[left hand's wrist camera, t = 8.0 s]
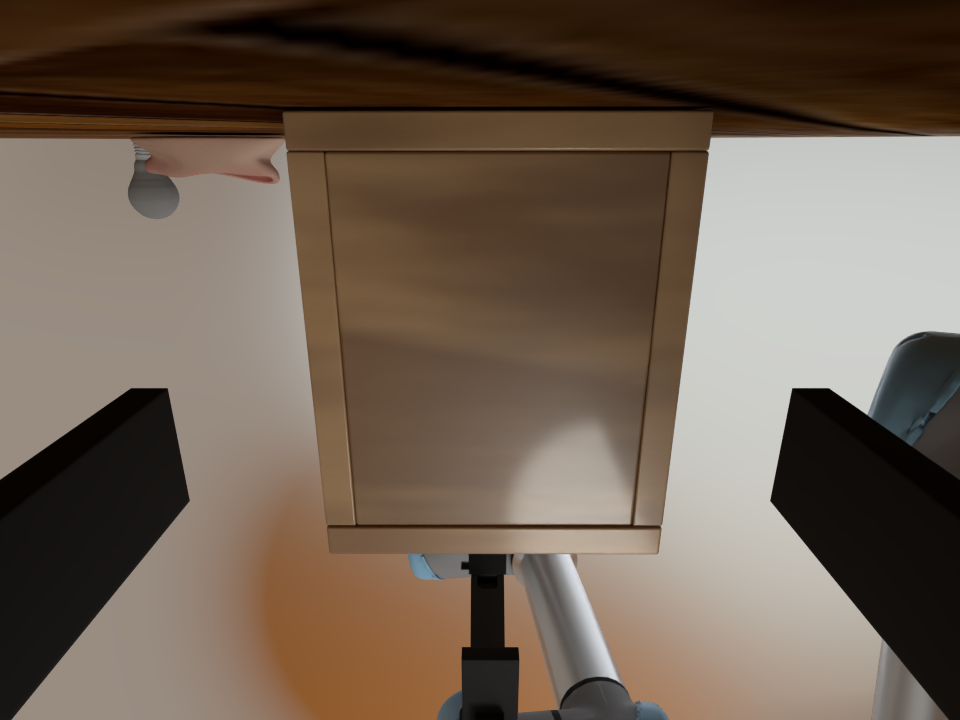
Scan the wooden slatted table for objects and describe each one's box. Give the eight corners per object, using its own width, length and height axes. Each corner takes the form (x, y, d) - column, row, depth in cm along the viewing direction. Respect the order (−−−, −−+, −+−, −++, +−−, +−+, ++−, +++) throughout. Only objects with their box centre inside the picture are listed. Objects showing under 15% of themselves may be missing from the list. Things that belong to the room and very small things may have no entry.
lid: (576, 344, 32) (569, 476, 35) (400, 344, 32) (407, 476, 35) (662, 528, 17) (636, 736, 20) (325, 527, 17) (348, 735, 20)
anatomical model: (132, 197, 41) (303, 192, 45) (120, 135, 39) (298, 136, 44) (149, 185, 52) (285, 182, 56) (140, 137, 51) (280, 138, 55)
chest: (591, 127, 28) (578, 346, 32) (388, 127, 28) (399, 346, 32) (715, 109, 13) (662, 526, 17) (280, 109, 13) (325, 525, 17)
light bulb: (159, 139, 74) (173, 221, 78) (176, 140, 80) (189, 215, 83) (108, 139, 73) (125, 221, 77) (129, 140, 79) (144, 216, 82)
